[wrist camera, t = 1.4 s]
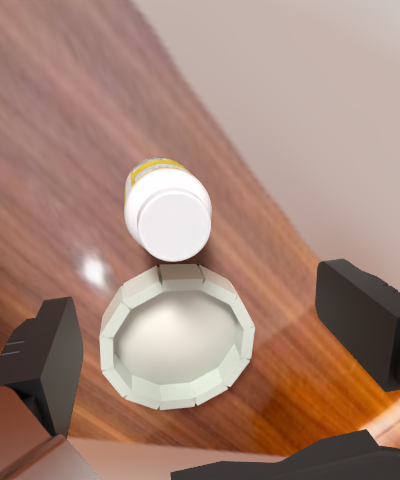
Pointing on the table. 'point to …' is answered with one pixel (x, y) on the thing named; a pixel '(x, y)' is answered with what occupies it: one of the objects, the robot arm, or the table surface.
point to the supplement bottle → (167, 209)
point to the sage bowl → (175, 337)
